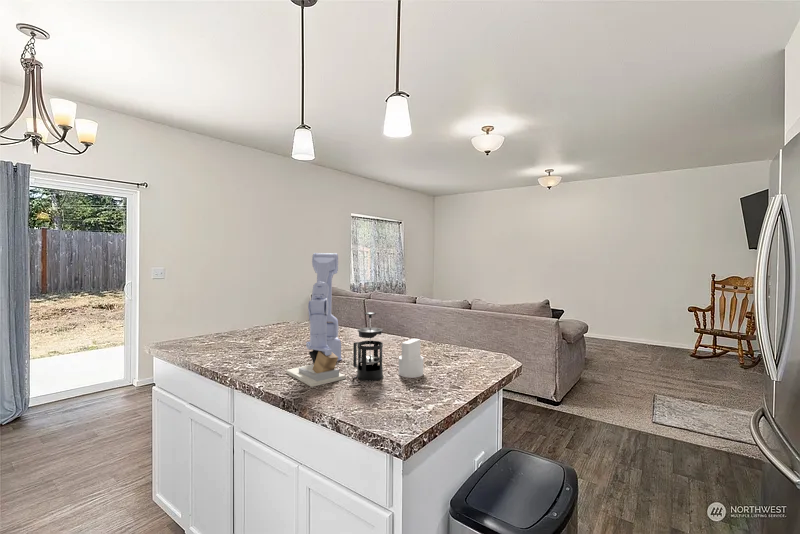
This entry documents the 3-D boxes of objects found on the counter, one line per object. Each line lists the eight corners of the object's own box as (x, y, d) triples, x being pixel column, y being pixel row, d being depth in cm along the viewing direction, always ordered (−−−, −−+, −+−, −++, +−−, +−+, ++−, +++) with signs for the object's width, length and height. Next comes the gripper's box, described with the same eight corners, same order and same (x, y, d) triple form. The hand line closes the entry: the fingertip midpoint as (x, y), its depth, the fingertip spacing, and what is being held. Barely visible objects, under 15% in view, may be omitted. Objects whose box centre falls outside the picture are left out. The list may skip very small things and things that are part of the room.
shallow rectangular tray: (318, 366, 144) (318, 357, 144) (345, 378, 129) (345, 368, 129) (286, 373, 135) (286, 363, 135) (311, 387, 121) (311, 376, 121)
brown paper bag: (323, 368, 132) (330, 348, 131) (331, 375, 129) (338, 355, 128) (312, 369, 128) (319, 348, 127) (320, 376, 125) (327, 355, 124)
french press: (389, 375, 134) (389, 311, 133) (377, 383, 125) (377, 315, 124) (361, 370, 138) (361, 309, 138) (347, 378, 130) (347, 312, 129)
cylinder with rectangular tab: (415, 379, 130) (415, 345, 129) (393, 374, 134) (394, 341, 134) (427, 372, 137) (427, 340, 137) (406, 368, 142) (406, 337, 142)
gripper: (298, 331, 133) (298, 368, 134) (318, 338, 122) (318, 379, 123) (316, 328, 138) (316, 364, 138) (336, 335, 127) (336, 374, 127)
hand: (318, 371), depth 131 cm, fingers closed, pressing on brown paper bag
